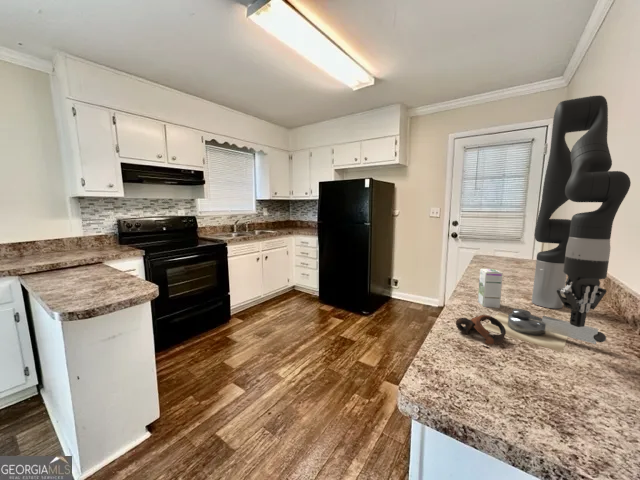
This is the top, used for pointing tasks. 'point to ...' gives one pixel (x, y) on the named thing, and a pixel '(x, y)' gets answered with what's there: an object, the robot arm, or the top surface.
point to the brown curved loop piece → (482, 328)
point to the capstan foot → (551, 327)
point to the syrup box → (490, 288)
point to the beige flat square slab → (546, 340)
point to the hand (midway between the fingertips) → (577, 325)
